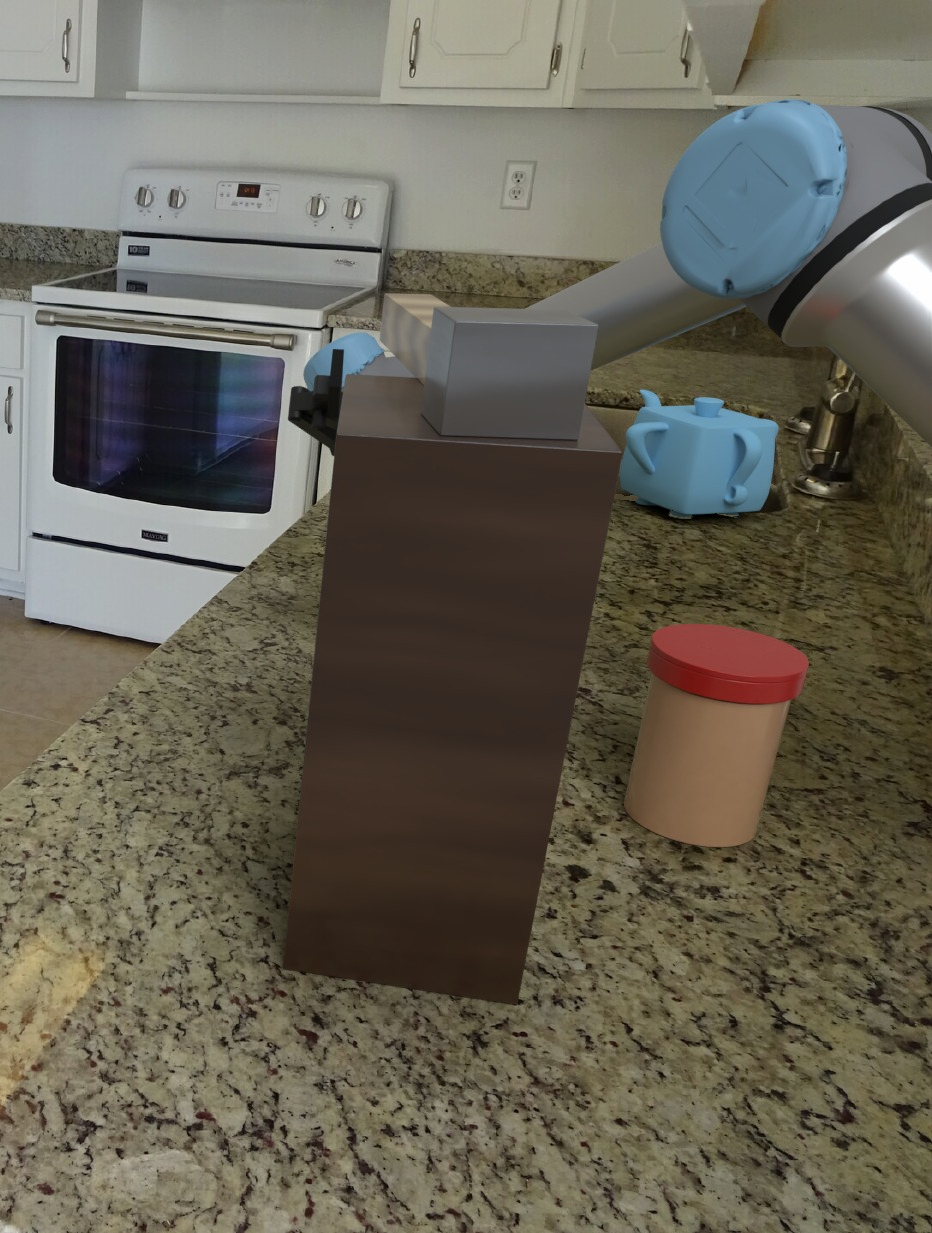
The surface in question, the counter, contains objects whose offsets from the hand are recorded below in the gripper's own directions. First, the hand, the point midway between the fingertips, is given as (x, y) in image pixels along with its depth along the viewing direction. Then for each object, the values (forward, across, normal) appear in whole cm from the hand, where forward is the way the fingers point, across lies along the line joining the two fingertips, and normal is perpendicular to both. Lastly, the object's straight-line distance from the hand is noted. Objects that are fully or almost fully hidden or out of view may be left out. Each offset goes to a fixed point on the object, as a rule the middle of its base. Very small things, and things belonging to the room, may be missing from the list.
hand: (440, 373), depth 83 cm
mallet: (+15, +1, -6) cm, 16 cm away
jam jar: (-7, -19, -27) cm, 34 cm away
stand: (+7, 0, -35) cm, 36 cm away
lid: (-1, -19, -17) cm, 26 cm away
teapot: (-80, -34, +15) cm, 88 cm away
